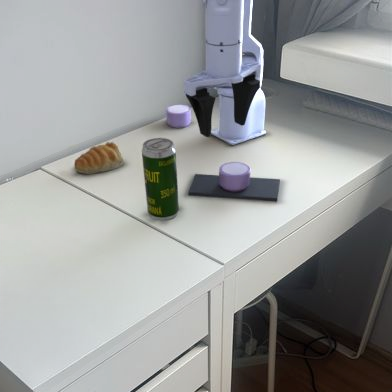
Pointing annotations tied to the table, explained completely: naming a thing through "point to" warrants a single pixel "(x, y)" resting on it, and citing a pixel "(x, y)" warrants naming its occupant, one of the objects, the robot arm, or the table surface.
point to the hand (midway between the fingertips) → (222, 129)
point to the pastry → (99, 159)
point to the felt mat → (254, 191)
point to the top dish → (234, 176)
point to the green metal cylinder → (160, 178)
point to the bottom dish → (178, 116)
